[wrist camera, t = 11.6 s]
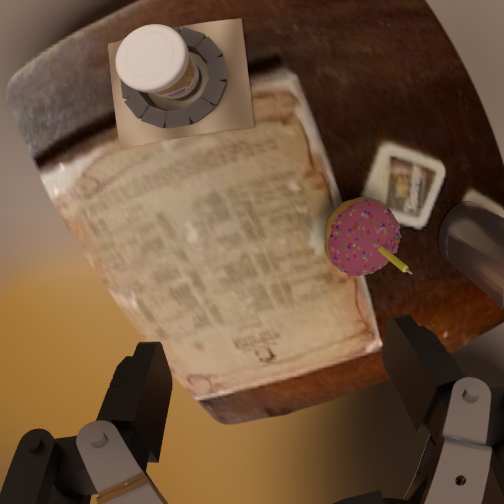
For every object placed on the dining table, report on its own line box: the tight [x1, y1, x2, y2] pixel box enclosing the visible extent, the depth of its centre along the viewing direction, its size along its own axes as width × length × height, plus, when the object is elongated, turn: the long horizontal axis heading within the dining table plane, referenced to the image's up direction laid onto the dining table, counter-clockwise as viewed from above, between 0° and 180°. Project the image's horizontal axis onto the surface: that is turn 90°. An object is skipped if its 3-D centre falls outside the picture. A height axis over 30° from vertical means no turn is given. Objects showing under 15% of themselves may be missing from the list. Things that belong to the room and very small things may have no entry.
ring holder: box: [108, 19, 254, 149], centre depth 27 cm, size 14×12×5 cm
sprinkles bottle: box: [115, 24, 202, 101], centre depth 22 cm, size 5×5×13 cm
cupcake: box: [325, 197, 412, 276], centre depth 31 cm, size 9×8×12 cm
